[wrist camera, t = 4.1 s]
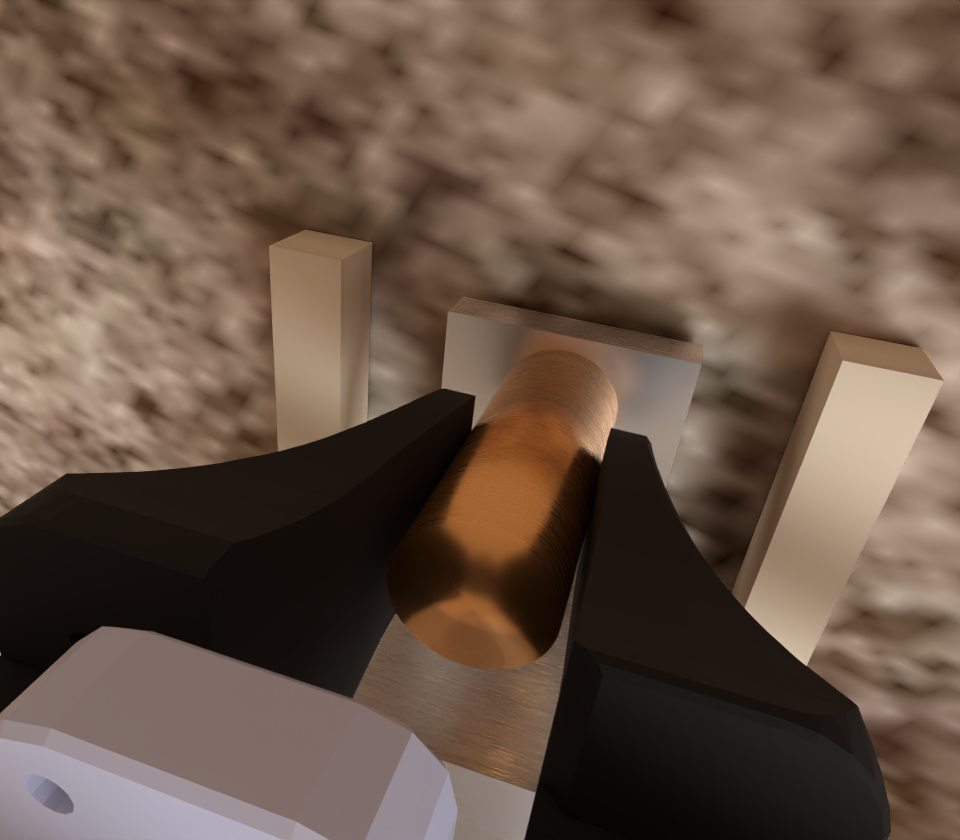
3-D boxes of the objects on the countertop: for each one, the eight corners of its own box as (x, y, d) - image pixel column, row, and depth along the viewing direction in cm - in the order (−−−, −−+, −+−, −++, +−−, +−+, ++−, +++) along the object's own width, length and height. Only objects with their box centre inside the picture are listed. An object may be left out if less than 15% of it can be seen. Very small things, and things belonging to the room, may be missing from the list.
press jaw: (384, 280, 15) (174, 427, 9) (797, 364, 14) (861, 610, 8) (373, 561, 19) (221, 791, 13) (692, 654, 17) (680, 964, 12)
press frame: (305, 229, 15) (50, 341, 10) (921, 348, 13) (1095, 600, 7) (315, 782, 25) (193, 1006, 19) (666, 910, 23) (649, 1213, 17)
